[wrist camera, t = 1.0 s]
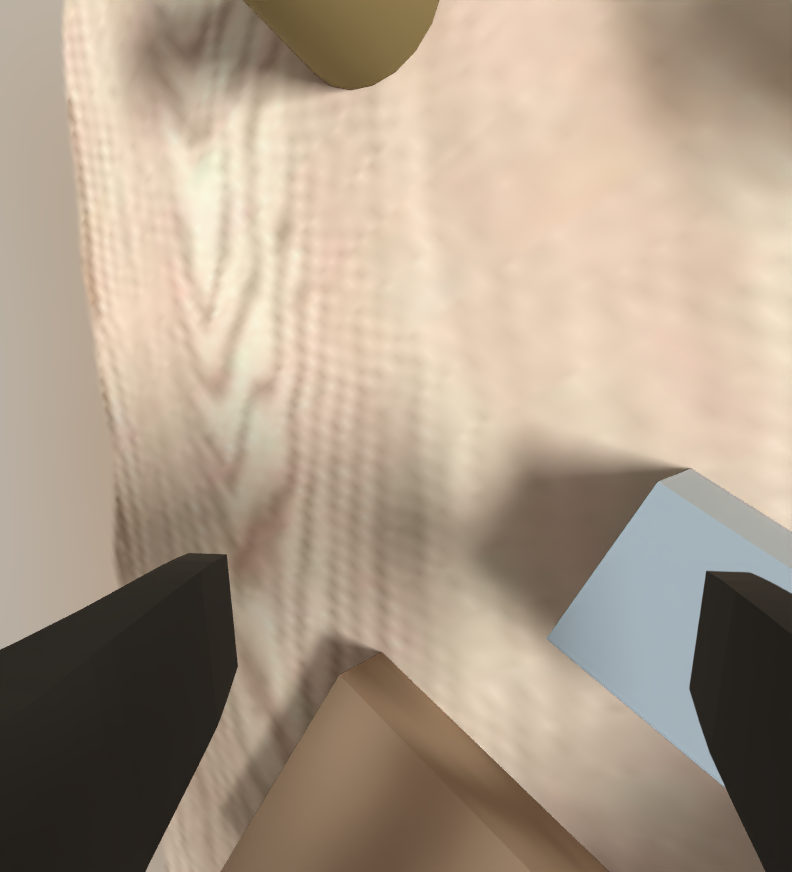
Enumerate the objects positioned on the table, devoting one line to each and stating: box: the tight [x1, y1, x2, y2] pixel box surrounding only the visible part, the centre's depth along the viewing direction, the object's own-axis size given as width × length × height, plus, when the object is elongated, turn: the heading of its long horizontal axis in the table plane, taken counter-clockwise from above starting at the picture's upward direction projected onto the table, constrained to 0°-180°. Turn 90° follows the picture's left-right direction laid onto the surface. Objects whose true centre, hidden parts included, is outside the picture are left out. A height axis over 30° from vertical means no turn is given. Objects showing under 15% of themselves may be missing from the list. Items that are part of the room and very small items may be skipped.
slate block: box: [546, 469, 792, 787], centre depth 16 cm, size 4×4×5 cm
